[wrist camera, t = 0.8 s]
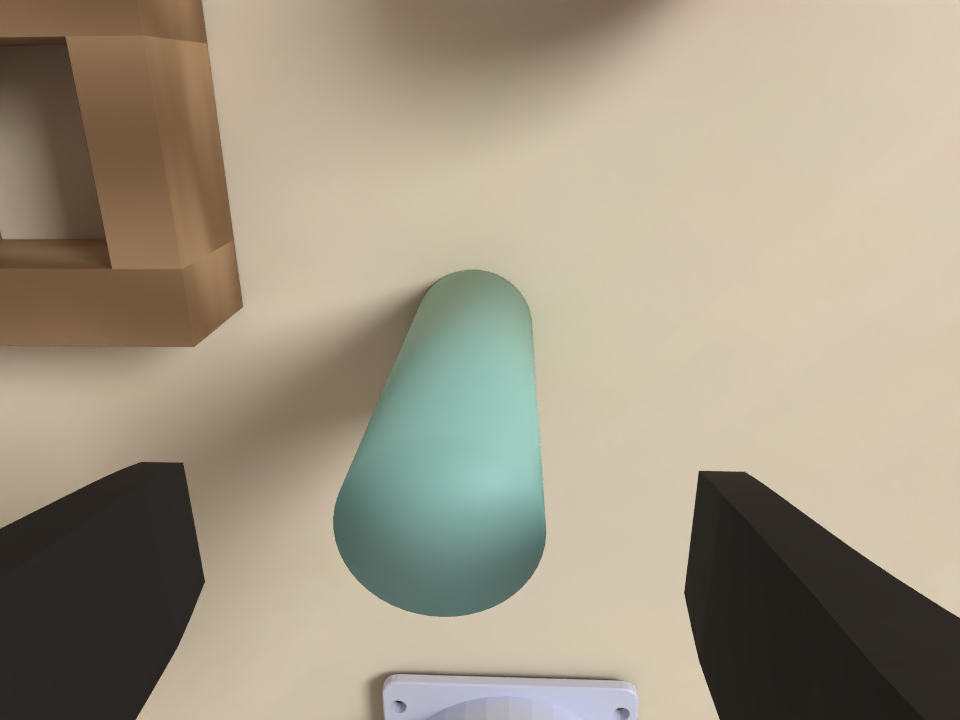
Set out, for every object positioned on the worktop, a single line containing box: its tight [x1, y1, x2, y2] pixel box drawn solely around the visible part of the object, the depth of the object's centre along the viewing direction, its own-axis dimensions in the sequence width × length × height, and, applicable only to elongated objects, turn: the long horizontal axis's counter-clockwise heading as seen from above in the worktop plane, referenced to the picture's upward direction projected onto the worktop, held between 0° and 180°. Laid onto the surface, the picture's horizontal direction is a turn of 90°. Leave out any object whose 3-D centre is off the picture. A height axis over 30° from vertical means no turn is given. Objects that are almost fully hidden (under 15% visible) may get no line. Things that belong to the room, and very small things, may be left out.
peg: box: [333, 270, 546, 617], centre depth 14 cm, size 3×3×9 cm
